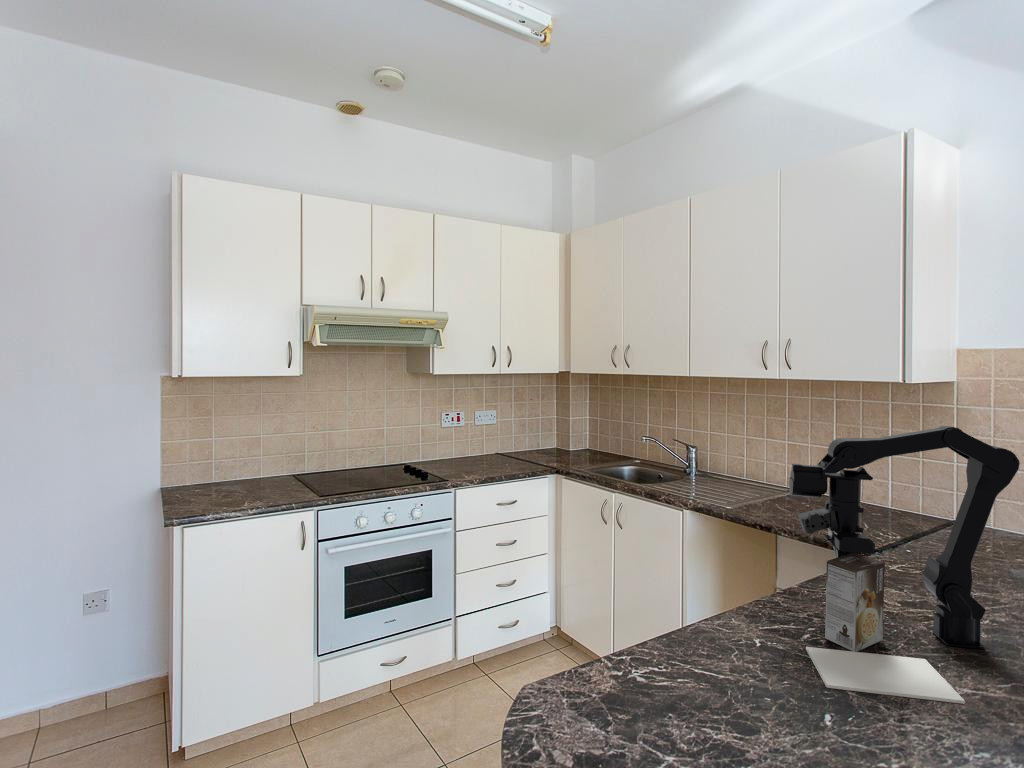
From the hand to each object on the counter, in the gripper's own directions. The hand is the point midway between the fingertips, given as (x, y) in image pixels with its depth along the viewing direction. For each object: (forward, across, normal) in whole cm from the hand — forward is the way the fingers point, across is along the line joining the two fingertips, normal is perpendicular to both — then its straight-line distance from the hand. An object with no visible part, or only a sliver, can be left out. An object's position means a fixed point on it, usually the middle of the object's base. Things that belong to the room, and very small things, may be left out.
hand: (842, 573), depth 120 cm
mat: (+11, +20, +1) cm, 23 cm away
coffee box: (+11, +7, 0) cm, 13 cm away
